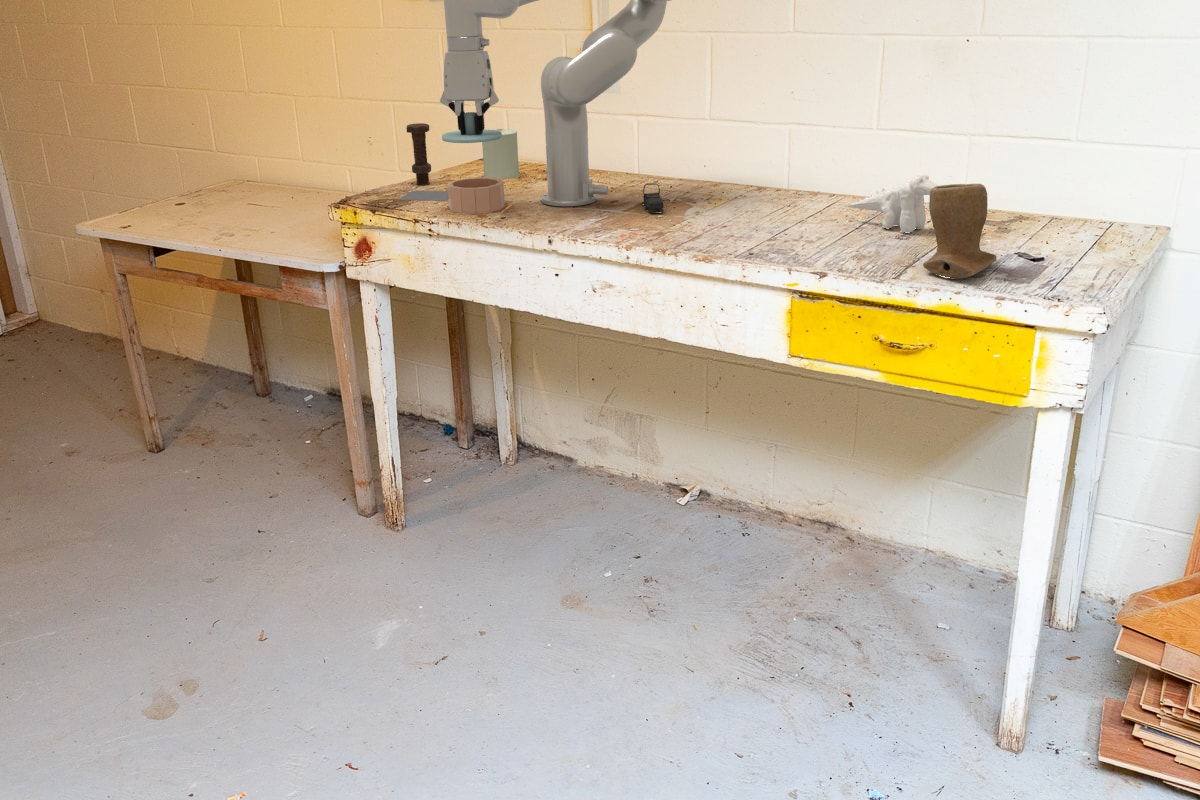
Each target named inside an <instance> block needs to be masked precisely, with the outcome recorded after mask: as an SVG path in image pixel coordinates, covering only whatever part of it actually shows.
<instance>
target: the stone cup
mask: <svg viewBox="0 0 1200 800" xmlns="http://www.w3.org/2000/svg"><path fill="white" fill-rule="evenodd" d="M928 203H929V204H928V207H929V215H930V219H931V222H932V226H933V229H934V235H935V239H936V245H937V246H936V247H937V248H936V252H935V253H934V254H933V255H932V256H931V257H930V258H928V260H927V261H925V262H923V264H922V266H923V269H926V270H927V271H928V272H930V273H932V274H933V273H934V275H935V274H937V275H941V276H945V277H950V278H954V279H953V280H960V279H961V280H962V279H967V278H971V277H972V276H975V275H977V274H978V273H980V272H983V270H986V269H987V268H989V267H990V266H991V265H992V264H994V263H995V262H996V260H997V255H995V254H993V253H990V252H987V251H983V250H981V247H980V243H981V238H982V234H983V228H984V226H985V224H986V221H987V217H988V192H987V187H986V186H985V185H984V184H982V183H967V184H965V183H959V184H958V183H955V184H944V185H942V184H941V185H939V186H936V187H933V188H932V189H931V191H930V195H929V202H928ZM937 275H936V276H937Z"/></svg>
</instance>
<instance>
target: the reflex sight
mask: <svg viewBox="0 0 1200 800" xmlns="http://www.w3.org/2000/svg"><path fill="white" fill-rule="evenodd" d="M652 185H653V186H658V192H654V193H650V192H649V193H645V188H646V186H652ZM650 190H651V191H652V190H653V188H650ZM642 192H643V193H642V194H643V196H642V197H643V201H642V203H641V205H642V204H644V205H643V207H644V206H645V207H644V210H645V211H646V210H648V211H649V212H648V211H647V212H648V213H650V212H663V210H664V198H661V195H660V193H661V189H660V186H659V184H658V183H656V182H655V183H651V182H650V183H645V184H644V185H643V190H642ZM663 213H664V212H663Z"/></svg>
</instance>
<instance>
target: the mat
mask: <svg viewBox="0 0 1200 800" xmlns="http://www.w3.org/2000/svg"><path fill="white" fill-rule="evenodd" d="M397 201H422V202H423V201H431V202H435V201H436V202H447V201H448V202H449V199H448V190H447V191H445V190H411V191H409V192H408V193H406V194H405V195H403V196H401V197H400V198H399V199H397Z"/></svg>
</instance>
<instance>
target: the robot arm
mask: <svg viewBox="0 0 1200 800" xmlns="http://www.w3.org/2000/svg"><path fill="white" fill-rule="evenodd" d="M537 1H539V0H443V4H444V5H443V7H444V19H445V31H446V33H445V35H446V43H447V51H446V52H445V53H444V60H443V61H444V62H443V91H442V94H441V97H440V100H439V102H440V104H441V105H444V106H446V107H448V108H449V109H450V110H451V111H452V112H453V113H454V115H455V116H456V117H457V129H458V131H460V132H461V135H464V134H465V123H464V113H466V112H465V102H474V105H475V112H476V116H475V131H476V134H477V135H480V134H481V133H483V130H485V114H486V112H487V111H488V110H489V109H490V108H491V107H492V106H494V105H496V104H498V103H499V102H500V99H499V97H498V95H497V93H496V92H495V88H494V87H495V85H494V77H493V70H492V65H491V60H490V55H489V52H488V50H484V49H485V47H487V46H490V44H491V43H490V39H489V38H485V37H484V35H483V24H482V18H490V19H499V20H501V19H503V20H504V19H506V18H509V17H511V16H512V15H514V13H516V12H517V10H518V8H519V7H522V6H524V5H528V4H531V3H533V2H534V3H535V2H537ZM670 1H672V0H629V1H628V3H627V4H626V5H625V6H624V7H623V8H622V9H621V10H620V11H619V12H617V14H616V15H614V16H613V17H611V18H610V19H609V20H607V21H606V22H605V23H603V24H602V25H600V26H599V27H597V28H596V29H595V30H593V31H592V32H591V33H589V34H588V35H587V37H586V38H585V40H584V42H583V43H582V47H581V52H580V53H578V54H577V55H575V57H569V56H557V57H555V58H553V59H551V60H550V61H548V63H546V65H545V66H544V68H543V70H542V72H541V76H540V90H541V96H542V97H541V98H542V103H543V113H544V127H545V129H544V130H545V132H544V133H545V134H544V135H545V155H546V158H545V159H546V177H547V192H546V193H544V194H543V195H542V196H541V202H542V204H543V205H544V204H545V205H548V206H552V207H553V206H554V207H578V206H586V205H590V204H593V203H595V202H596V201H597V195H608V194H609V187H608V185H605V184H595V183H593V179H592V178H590V168H589V167H590V165H589V131H588V130H589V129H588V128H589V127H588V125H589V123H588V111H587V104H589V103H591V102H593V100H595V99H596V98H598V97H599V96H600V95H602V94H603V93H604V92H606V91H607V90H609V88H610V87H613V85H615V84H616V83H617V82H619V81H620V80H622V78H623V77H625V76H626V75H627V74H628V73H629V72H630V71H631V69H632V68H633V67H634V66H635V64H636V61H637V57H638V49H639V48H641V46H642V45H644V43H646V42H647V41H648V40H649V39H650V38H652V37H653V35H654V34H656V32H657V31H658V30H659V28H660V27H661V25H662V23H663V21H664V17H665V13H666V8H667V3H668V2H670ZM488 99H489V100H488ZM486 100H488V101H486ZM485 101H486V102H485Z"/></svg>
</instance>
